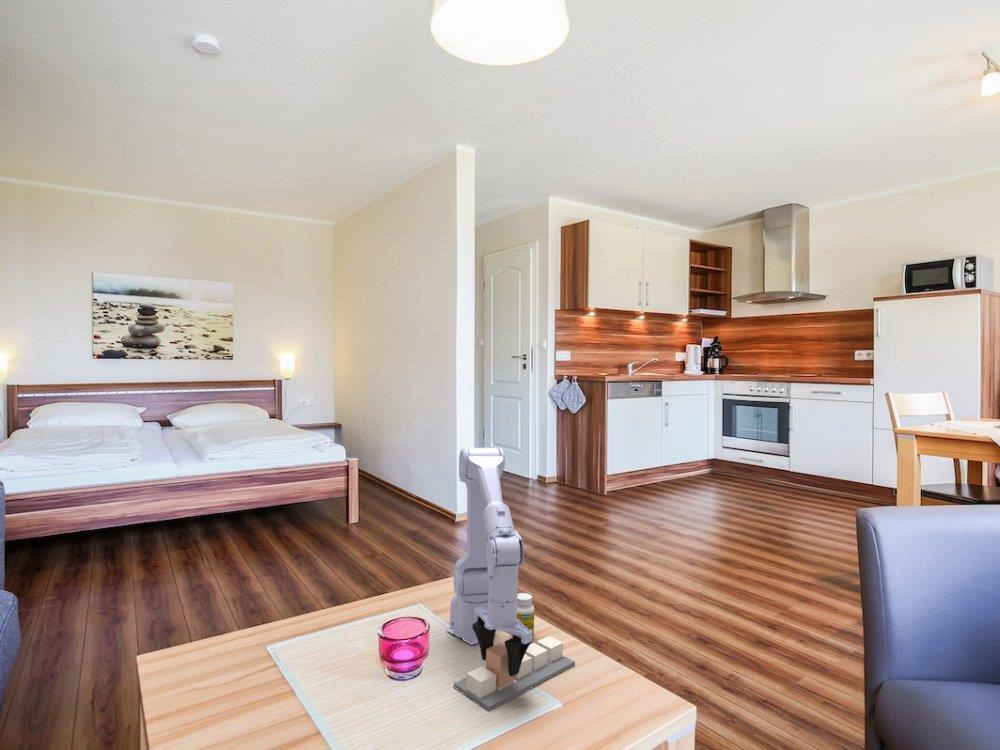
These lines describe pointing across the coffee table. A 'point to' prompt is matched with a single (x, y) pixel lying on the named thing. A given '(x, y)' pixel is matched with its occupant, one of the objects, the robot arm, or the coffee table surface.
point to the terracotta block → (498, 664)
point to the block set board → (519, 684)
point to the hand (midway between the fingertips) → (500, 666)
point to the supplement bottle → (525, 611)
